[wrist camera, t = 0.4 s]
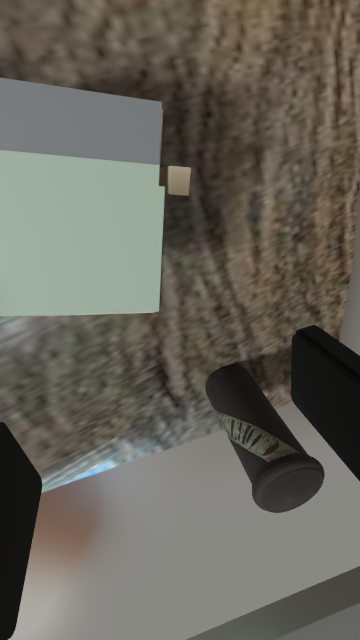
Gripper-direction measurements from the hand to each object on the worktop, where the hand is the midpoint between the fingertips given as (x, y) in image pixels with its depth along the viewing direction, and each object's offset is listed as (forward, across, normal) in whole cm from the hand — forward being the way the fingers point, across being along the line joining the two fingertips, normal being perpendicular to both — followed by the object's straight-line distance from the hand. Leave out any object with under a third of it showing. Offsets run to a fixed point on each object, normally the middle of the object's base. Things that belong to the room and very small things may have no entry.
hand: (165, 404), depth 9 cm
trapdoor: (+23, +3, -4) cm, 24 cm away
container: (+30, -12, +28) cm, 42 cm away
